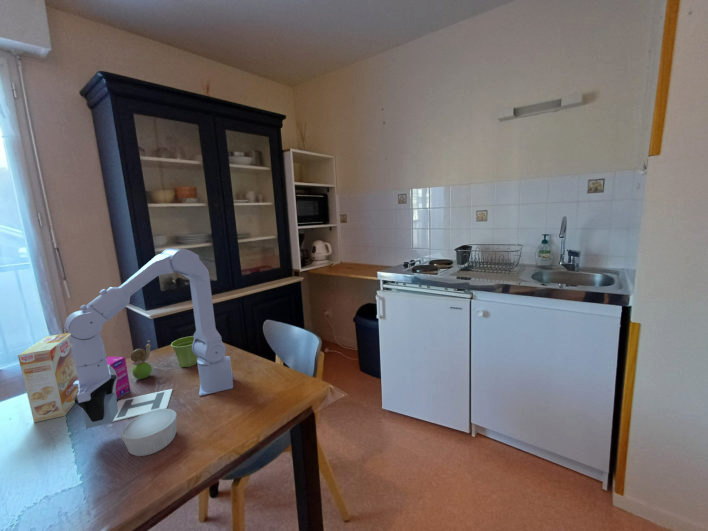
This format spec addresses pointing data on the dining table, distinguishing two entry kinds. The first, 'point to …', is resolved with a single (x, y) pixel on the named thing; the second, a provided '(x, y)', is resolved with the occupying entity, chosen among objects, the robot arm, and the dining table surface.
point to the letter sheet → (142, 404)
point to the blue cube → (109, 412)
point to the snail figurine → (141, 362)
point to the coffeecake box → (49, 376)
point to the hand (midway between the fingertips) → (102, 413)
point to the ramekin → (150, 432)
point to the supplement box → (119, 375)
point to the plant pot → (185, 351)
